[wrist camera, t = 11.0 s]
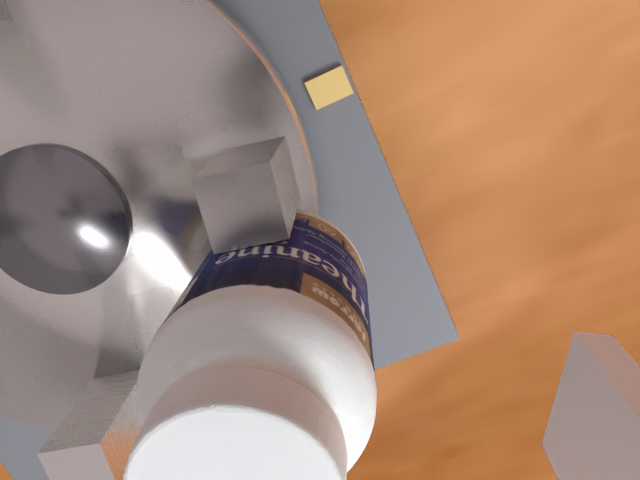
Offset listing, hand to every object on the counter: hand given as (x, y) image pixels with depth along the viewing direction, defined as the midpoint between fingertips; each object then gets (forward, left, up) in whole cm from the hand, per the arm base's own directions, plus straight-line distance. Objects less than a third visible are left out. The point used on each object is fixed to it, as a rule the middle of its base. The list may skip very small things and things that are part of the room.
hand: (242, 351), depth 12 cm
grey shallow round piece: (+6, -3, -10) cm, 12 cm away
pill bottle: (0, +2, -8) cm, 8 cm away
